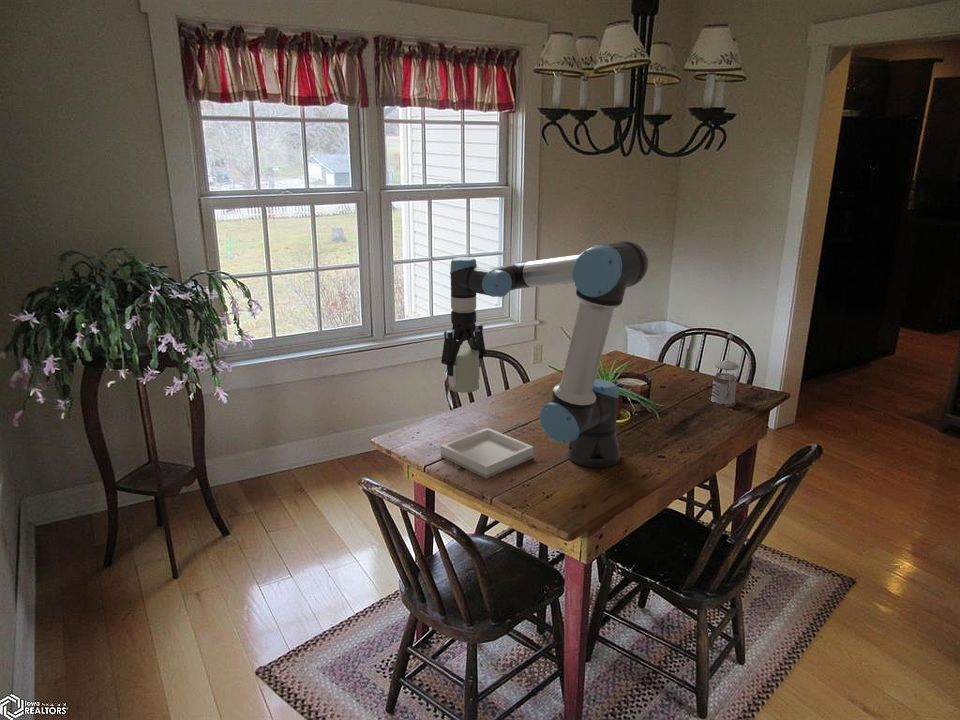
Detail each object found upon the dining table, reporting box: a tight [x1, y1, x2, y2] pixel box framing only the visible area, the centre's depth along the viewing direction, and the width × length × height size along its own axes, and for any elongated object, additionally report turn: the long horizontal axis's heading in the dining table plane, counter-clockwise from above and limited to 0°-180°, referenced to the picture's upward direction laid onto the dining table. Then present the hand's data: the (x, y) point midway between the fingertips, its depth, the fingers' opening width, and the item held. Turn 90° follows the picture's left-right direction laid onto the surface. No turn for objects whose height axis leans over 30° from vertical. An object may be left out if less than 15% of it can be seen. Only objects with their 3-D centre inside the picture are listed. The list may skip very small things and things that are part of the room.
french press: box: [710, 334, 740, 404], centre depth 238 cm, size 10×12×25 cm
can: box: [448, 347, 480, 394], centre depth 209 cm, size 9×9×12 cm
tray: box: [440, 427, 534, 480], centre depth 199 cm, size 19×19×4 cm
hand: (464, 381), depth 211 cm, fingers closed on can, 9 cm apart
